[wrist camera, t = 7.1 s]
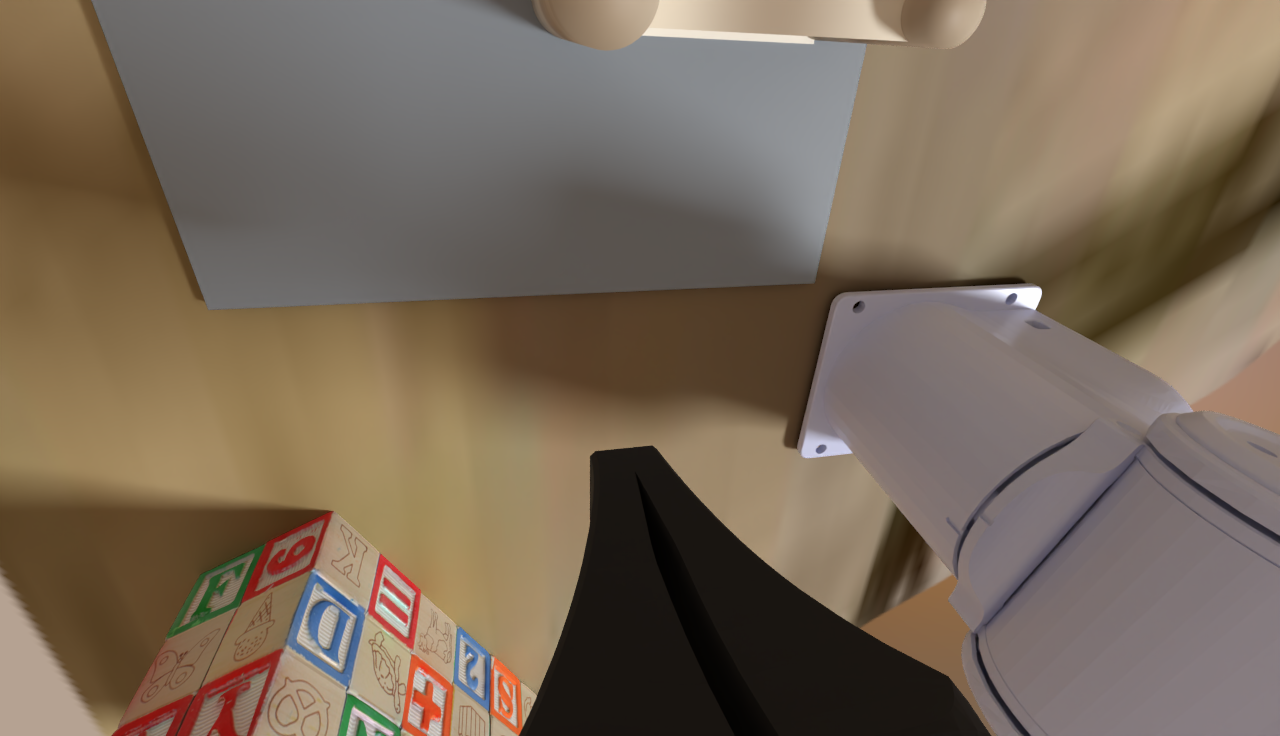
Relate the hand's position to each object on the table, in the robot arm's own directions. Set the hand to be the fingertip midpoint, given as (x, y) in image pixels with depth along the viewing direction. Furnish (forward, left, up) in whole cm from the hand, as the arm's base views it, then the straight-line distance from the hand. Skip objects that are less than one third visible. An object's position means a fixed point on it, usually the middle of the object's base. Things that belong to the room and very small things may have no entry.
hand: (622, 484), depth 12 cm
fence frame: (-3, -9, -9) cm, 13 cm away
